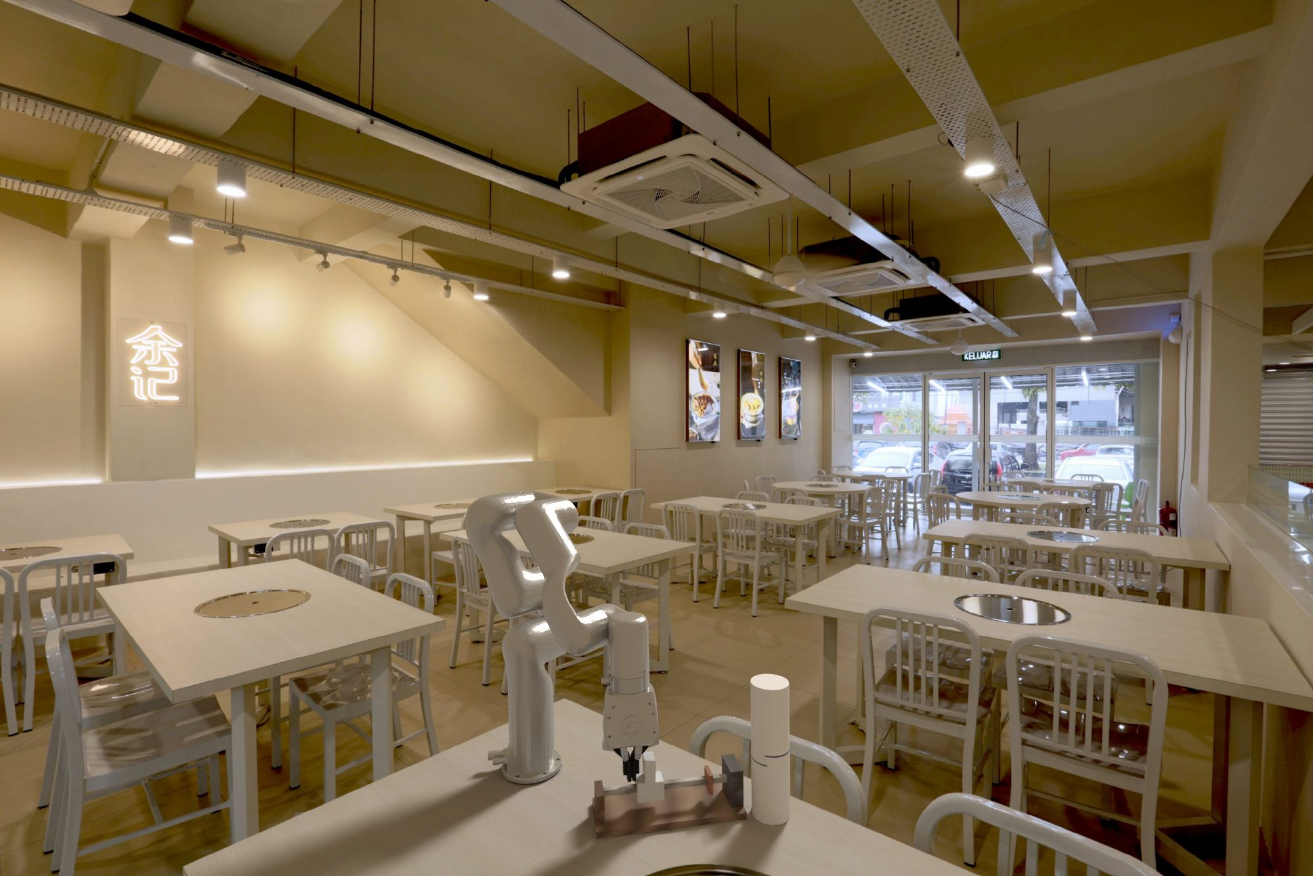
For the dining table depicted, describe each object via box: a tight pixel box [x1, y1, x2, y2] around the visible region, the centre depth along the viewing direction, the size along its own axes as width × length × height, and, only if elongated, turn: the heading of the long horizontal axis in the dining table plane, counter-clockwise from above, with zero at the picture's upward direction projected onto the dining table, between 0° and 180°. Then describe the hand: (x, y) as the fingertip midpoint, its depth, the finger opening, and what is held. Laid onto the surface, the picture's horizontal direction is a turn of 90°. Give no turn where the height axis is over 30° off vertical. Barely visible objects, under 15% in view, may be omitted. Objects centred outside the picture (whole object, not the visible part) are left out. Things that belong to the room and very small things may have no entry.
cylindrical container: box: [750, 673, 791, 826], centre depth 114 cm, size 7×7×25 cm
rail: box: [592, 753, 748, 840], centre depth 115 cm, size 28×10×8 cm, turn 100°
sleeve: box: [634, 751, 664, 803], centre depth 114 cm, size 5×4×8 cm
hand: (631, 777), depth 113 cm, fingers closed
